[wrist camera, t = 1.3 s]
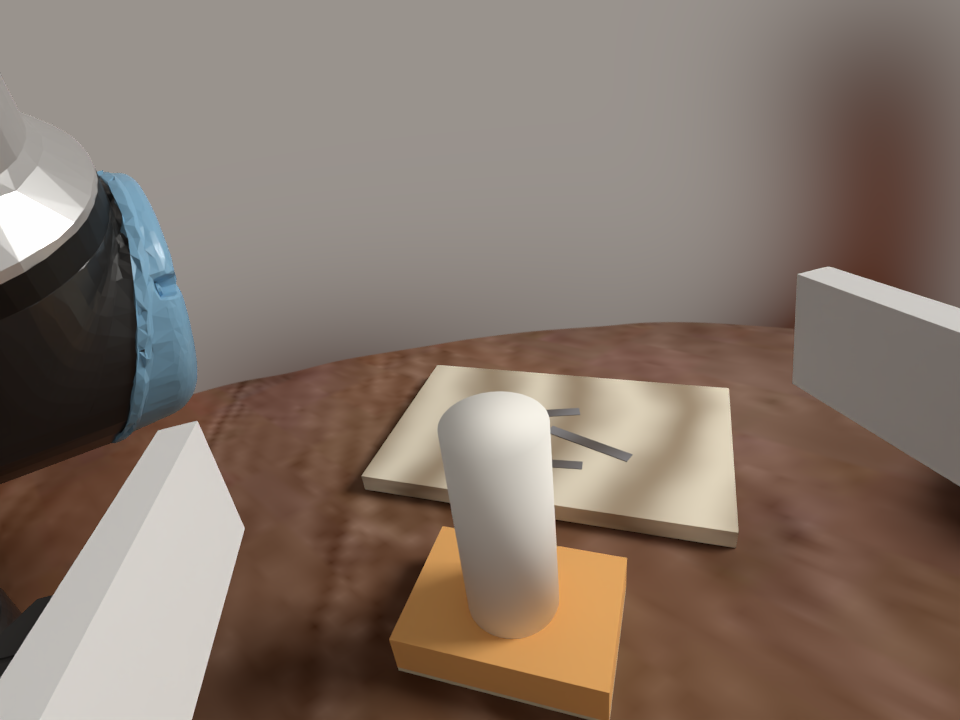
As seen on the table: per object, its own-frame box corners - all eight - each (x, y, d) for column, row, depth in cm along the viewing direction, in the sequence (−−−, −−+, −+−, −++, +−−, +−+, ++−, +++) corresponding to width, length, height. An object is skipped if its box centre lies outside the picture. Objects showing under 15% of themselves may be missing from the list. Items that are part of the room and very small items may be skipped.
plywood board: (365, 489, 39) (361, 475, 39) (439, 376, 51) (437, 364, 50) (735, 548, 32) (738, 532, 32) (726, 401, 43) (728, 387, 43)
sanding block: (398, 670, 28) (337, 466, 22) (448, 556, 34) (412, 366, 27) (608, 725, 25) (612, 506, 19) (625, 590, 31) (633, 384, 24)
